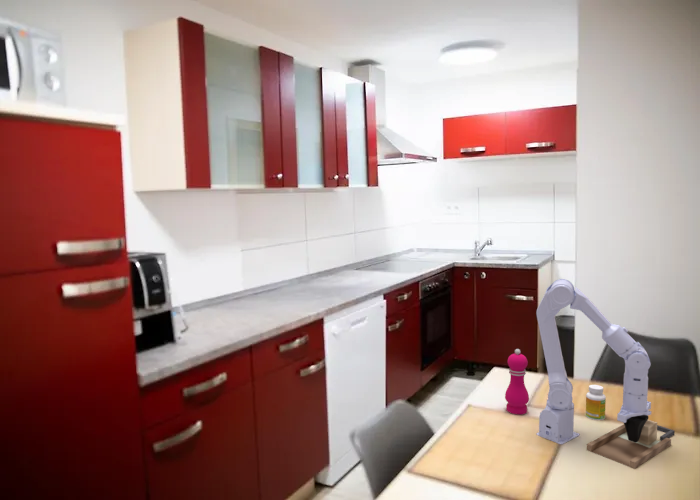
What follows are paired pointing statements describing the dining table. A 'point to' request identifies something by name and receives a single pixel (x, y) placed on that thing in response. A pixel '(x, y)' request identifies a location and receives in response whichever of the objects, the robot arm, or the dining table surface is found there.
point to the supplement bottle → (595, 403)
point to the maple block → (648, 433)
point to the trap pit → (667, 432)
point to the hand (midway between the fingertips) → (633, 440)
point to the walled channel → (626, 448)
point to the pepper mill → (517, 384)
